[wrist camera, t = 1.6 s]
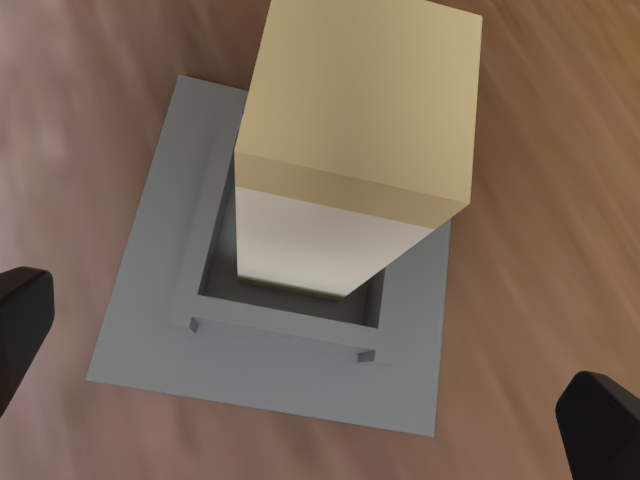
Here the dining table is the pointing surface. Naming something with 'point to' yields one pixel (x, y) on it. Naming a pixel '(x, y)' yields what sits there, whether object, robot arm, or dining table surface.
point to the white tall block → (352, 139)
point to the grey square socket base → (260, 299)
